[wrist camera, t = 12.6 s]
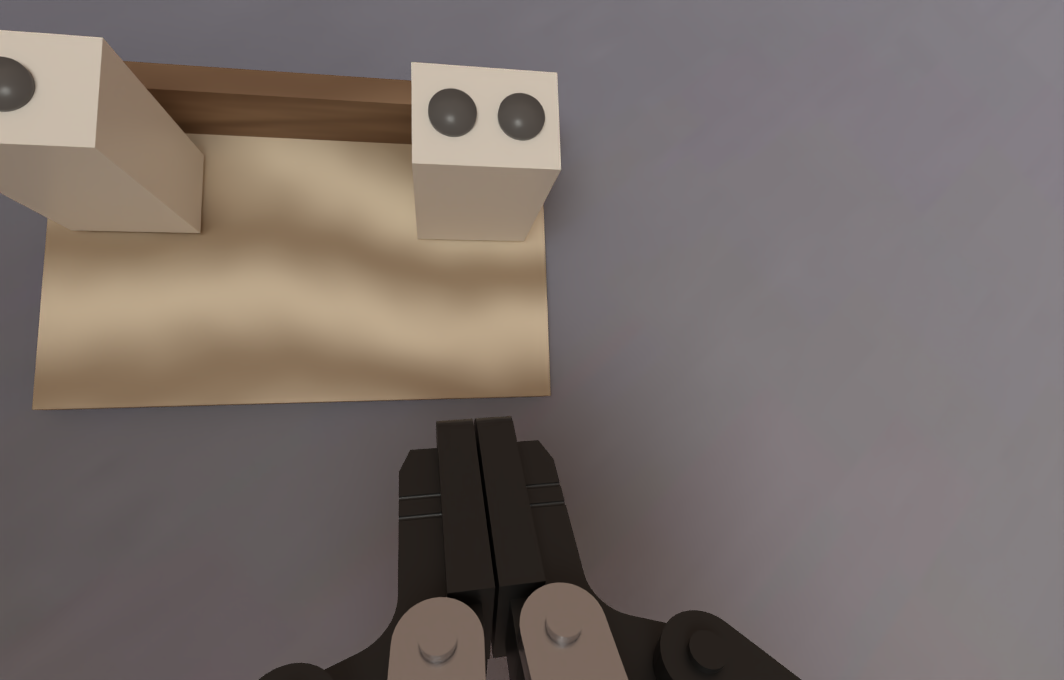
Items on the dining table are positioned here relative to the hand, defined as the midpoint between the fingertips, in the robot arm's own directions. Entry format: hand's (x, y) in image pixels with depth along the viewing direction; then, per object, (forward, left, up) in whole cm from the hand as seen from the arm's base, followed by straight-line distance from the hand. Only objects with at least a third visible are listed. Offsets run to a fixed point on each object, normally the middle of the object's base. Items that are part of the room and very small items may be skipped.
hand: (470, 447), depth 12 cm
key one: (0, +19, -17) cm, 26 cm away
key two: (+10, +7, -17) cm, 21 cm away
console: (+3, +11, -19) cm, 22 cm away
